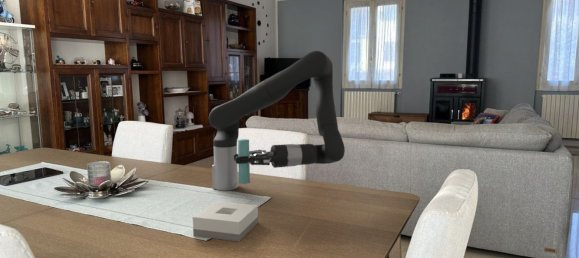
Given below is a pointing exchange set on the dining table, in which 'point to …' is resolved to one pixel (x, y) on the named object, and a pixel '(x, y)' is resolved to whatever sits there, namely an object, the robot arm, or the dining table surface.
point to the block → (225, 221)
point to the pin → (245, 167)
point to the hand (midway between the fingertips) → (235, 159)
